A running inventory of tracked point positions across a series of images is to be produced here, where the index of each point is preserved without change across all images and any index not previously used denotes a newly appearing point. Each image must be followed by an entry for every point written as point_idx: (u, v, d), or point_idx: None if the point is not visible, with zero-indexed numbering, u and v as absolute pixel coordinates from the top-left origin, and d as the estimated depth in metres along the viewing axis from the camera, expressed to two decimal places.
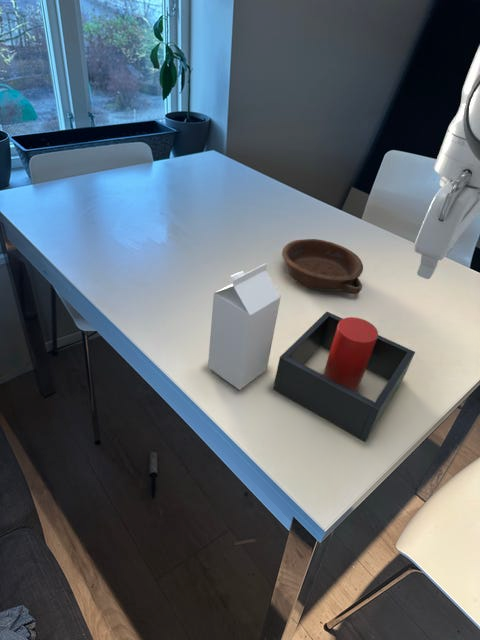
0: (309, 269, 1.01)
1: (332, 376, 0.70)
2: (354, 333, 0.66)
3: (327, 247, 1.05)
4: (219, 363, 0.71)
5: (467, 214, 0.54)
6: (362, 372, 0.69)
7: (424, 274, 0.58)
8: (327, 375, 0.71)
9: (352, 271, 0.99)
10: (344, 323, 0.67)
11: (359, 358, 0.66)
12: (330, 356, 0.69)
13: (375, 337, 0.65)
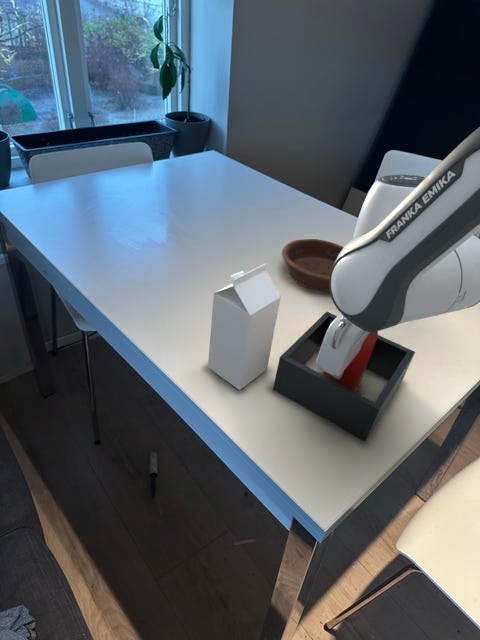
0: (309, 269, 1.01)
1: (332, 376, 0.70)
2: None
3: (327, 247, 1.05)
4: (219, 363, 0.71)
5: (364, 333, 0.63)
6: (362, 372, 0.69)
7: None
8: (327, 375, 0.71)
9: None
10: None
11: (359, 358, 0.66)
12: None
13: (375, 337, 0.65)
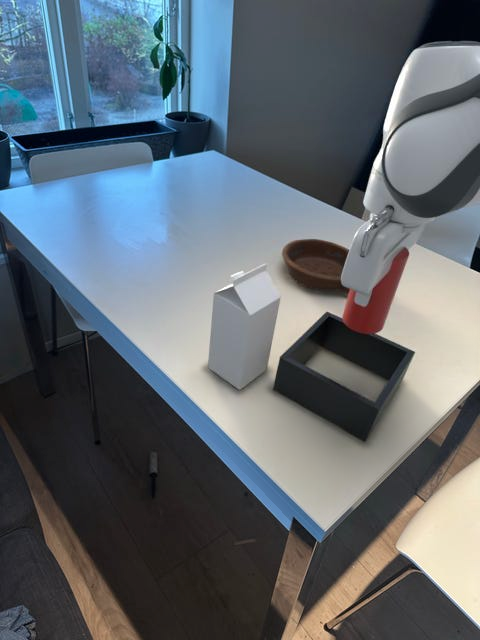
0: (309, 269, 1.01)
1: (355, 306, 0.61)
2: None
3: (327, 247, 1.05)
4: (219, 363, 0.71)
5: (395, 247, 0.54)
6: (390, 300, 0.60)
7: (360, 302, 0.59)
8: (350, 306, 0.63)
9: None
10: None
11: (388, 280, 0.58)
12: None
13: (406, 255, 0.57)
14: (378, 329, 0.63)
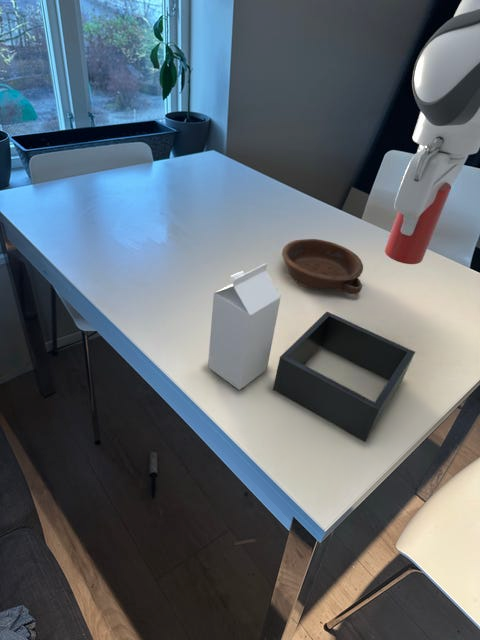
0: (309, 269, 1.01)
1: (400, 238, 0.68)
2: None
3: (327, 247, 1.05)
4: (219, 363, 0.71)
5: (441, 178, 0.61)
6: (432, 231, 0.67)
7: (406, 231, 0.66)
8: (394, 238, 0.69)
9: (352, 271, 0.99)
10: None
11: (432, 211, 0.64)
12: (398, 216, 0.68)
13: (449, 188, 0.64)
14: (419, 259, 0.70)
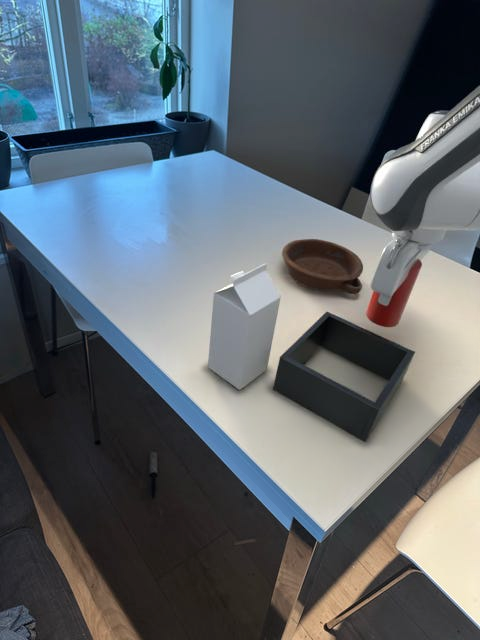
0: (309, 269, 1.01)
1: (378, 305, 0.77)
2: None
3: (327, 247, 1.05)
4: (219, 363, 0.71)
5: (412, 260, 0.70)
6: (406, 300, 0.76)
7: (383, 302, 0.75)
8: (373, 305, 0.78)
9: (352, 271, 0.99)
10: None
11: (405, 285, 0.74)
12: None
13: (420, 266, 0.73)
14: (395, 323, 0.79)
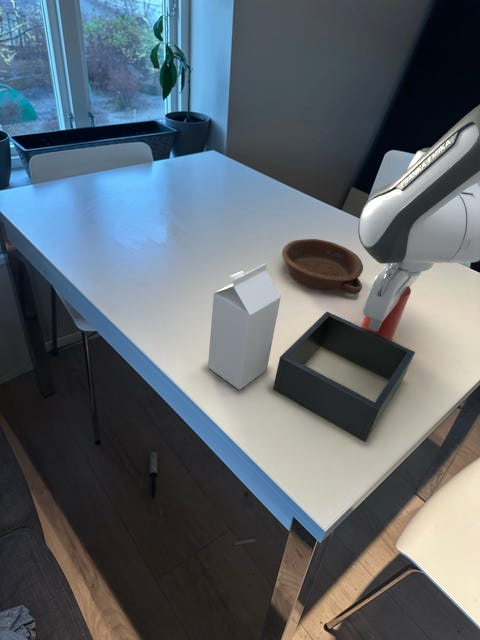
0: (309, 269, 1.01)
1: (369, 329, 0.81)
2: None
3: (327, 247, 1.05)
4: (219, 363, 0.71)
5: (402, 286, 0.73)
6: (396, 325, 0.80)
7: (373, 328, 0.77)
8: None
9: (352, 271, 0.99)
10: None
11: (394, 311, 0.77)
12: None
13: (409, 293, 0.76)
14: None
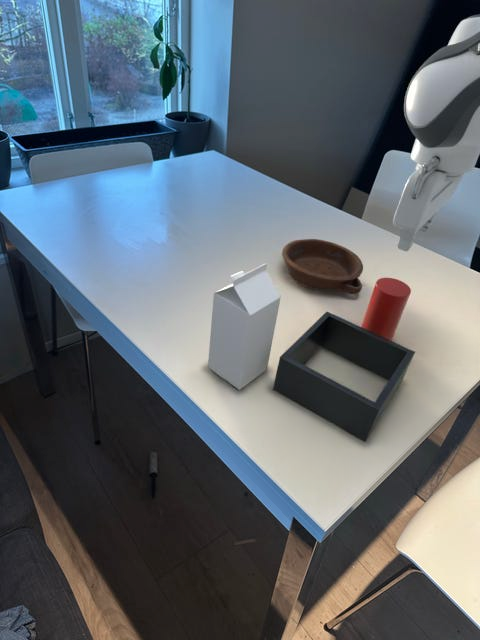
0: (309, 269, 1.01)
1: (369, 329, 0.81)
2: (390, 289, 0.77)
3: (327, 247, 1.05)
4: (219, 363, 0.71)
5: (438, 194, 0.64)
6: (396, 325, 0.80)
7: (403, 247, 0.68)
8: None
9: (352, 271, 0.99)
10: (381, 282, 0.78)
11: (394, 311, 0.77)
12: (368, 311, 0.80)
13: (409, 293, 0.76)
14: None
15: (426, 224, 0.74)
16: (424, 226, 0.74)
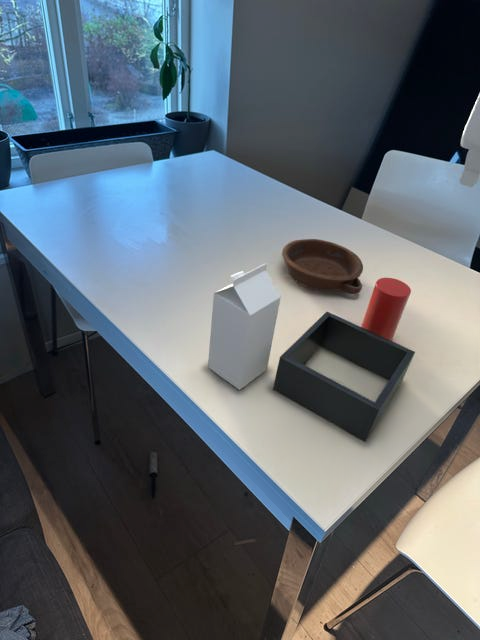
0: (309, 269, 1.01)
1: (369, 329, 0.81)
2: (390, 289, 0.77)
3: (327, 247, 1.05)
4: (219, 363, 0.71)
5: None
6: (396, 325, 0.80)
7: (468, 181, 0.52)
8: None
9: (352, 271, 0.99)
10: (381, 282, 0.78)
11: (394, 311, 0.77)
12: (368, 311, 0.80)
13: (409, 293, 0.76)
14: None
15: None
16: None
